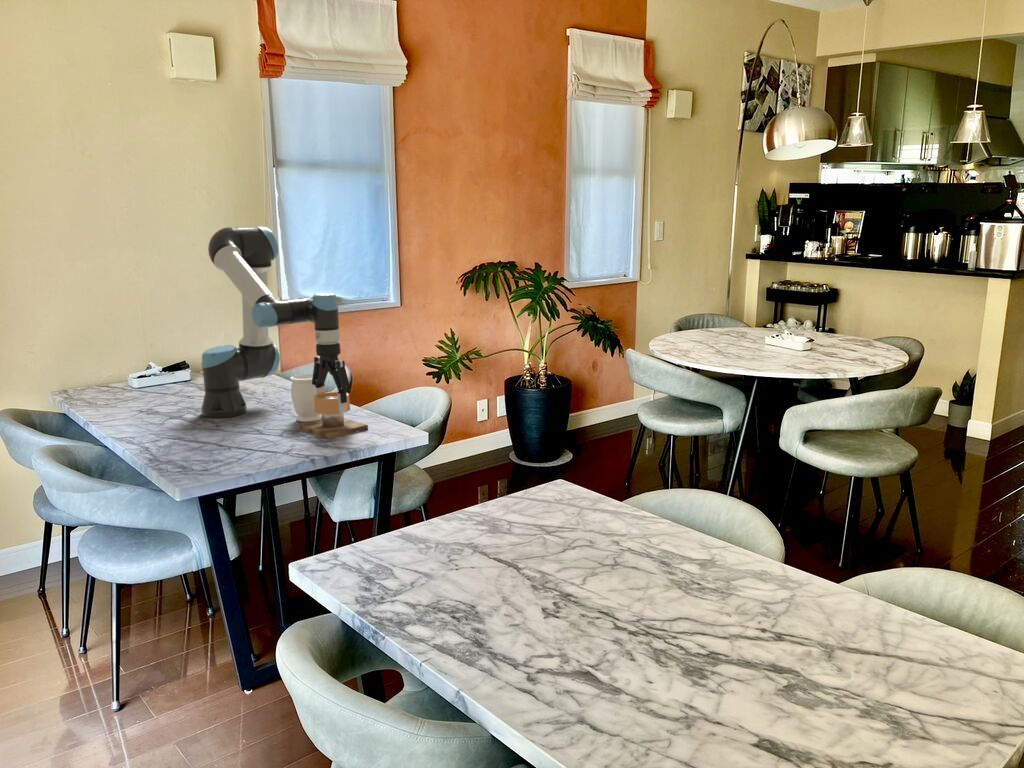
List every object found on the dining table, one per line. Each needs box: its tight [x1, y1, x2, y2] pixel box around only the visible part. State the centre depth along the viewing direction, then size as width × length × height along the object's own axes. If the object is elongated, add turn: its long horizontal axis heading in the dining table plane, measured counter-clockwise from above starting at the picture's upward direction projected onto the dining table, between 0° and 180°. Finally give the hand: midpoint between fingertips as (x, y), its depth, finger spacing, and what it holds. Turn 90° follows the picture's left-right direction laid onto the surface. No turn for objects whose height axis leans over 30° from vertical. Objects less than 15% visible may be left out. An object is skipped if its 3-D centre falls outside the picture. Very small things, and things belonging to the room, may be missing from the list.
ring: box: [314, 391, 351, 415], centre depth 265 cm, size 11×11×5 cm
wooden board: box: [298, 417, 369, 440], centre depth 267 cm, size 17×15×2 cm
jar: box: [289, 373, 324, 423], centre depth 279 cm, size 11×10×15 cm
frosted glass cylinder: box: [320, 396, 345, 428], centre depth 266 cm, size 7×7×9 cm
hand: (332, 409), depth 266 cm, fingers closed on ring, 11 cm apart
